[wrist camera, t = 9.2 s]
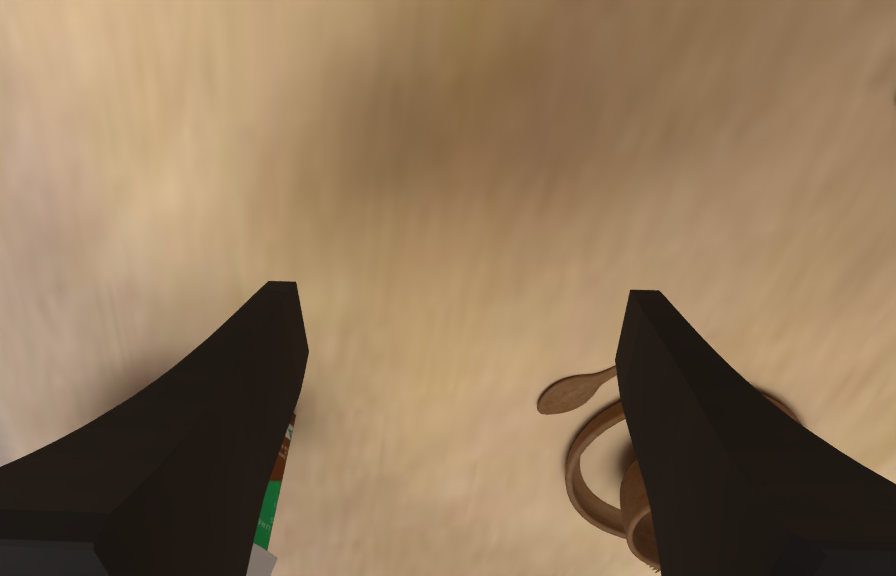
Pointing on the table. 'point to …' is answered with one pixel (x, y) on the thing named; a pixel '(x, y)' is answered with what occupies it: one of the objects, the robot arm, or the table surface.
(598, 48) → the table surface
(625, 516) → the place setting
